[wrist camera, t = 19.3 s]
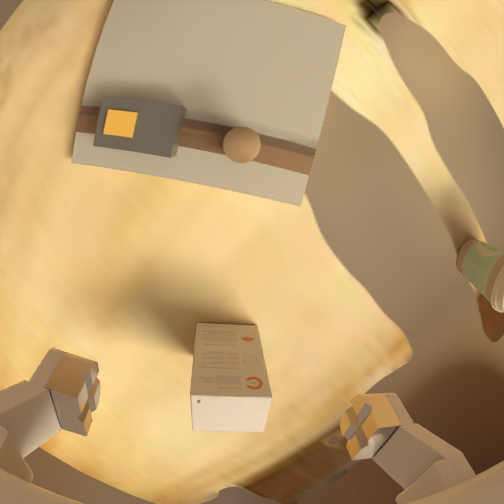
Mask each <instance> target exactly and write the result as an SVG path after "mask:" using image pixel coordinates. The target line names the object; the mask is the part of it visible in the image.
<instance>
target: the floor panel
mask: <svg viewBox="0 0 504 504" xmlns="http://www.w3.org/2000/svg"><path fill="white" fill-rule="evenodd" d="M345 27H346V26H345V25H343V24H340V23H338V22H335V21H332V20H329V19H327V18H324V17H321V16H318V15H315V14H312V13H309V12H306V11H303V10H300V9H296V8H293V7H289V6H286V5H282V4H279V3H275V2H271V1H267V0H114V1H113V4H112V6H111V9H110V11H109V14H108V17H107V19H106V22H105V25H104V27H103V30H102V33H101V36H100V39H99V42H98V45H97V48H96V52H95V55H94V58H93V62H92V65H91V69H90V72H89V76H88V80H87V84H86V88H85V92H84V96H83V100H82V105H81V110H80V114H79V119H78V125H77V130H76V136H75V142H74V148H73V155H72V162H71V163H76V164H83V165H90V166H97V167H104V168H111V169H117V170H123V171H129V172H135V173H141V174H147V175H153V176H159V177H164V178H170V179H175V180H180V181H186V182H191V183H196V184H201V185H206V186H211V187H216V188H221V189H226V190H230V191H235V192H240V193H244V194H249V195H253V196H258V197H262V198H267V199H271V200H275V201H280V202H284V203H288V204H292V205H296V206H301V203H302V199H303V195H304V192H305V188H306V184H307V181H308V177H309V173H310V170H311V166H312V162H313V159H314V155H315V151H316V147H317V143H318V140H319V136H320V132H321V128H322V124H323V120H324V116H325V112H326V108H327V104H328V100H329V96H330V92H331V88H332V84H333V79H334V75H335V71H336V67H337V63H338V58H339V54H340V49H341V45H342V41H343V36H344V32H345ZM103 96H112V97H123V98H132V99H141V100H149V101H156V102H163V103H170V104H176V105H182V106H184V107H185V108H186V109H187V110H186V115H185V119H184V123H183V127H182V131H181V136H180V140H179V145H178V149H177V154H176V156H174V157H172V158H168V157H162V156H157V155H151V154H145V153H138V152H132V151H125V150H118V149H111V148H104V147H96V146H93V143H94V137H95V131H96V126H97V121H98V116H99V112H100V107H101V103H102V99H103ZM236 127H248V128H251V129H252V130H254V131H255V132H256V133H257V134H258V136H259V138H260V142H261V147H260V151H259V153H258V155H257V156H256V157H255V158H254V159H253V160H251V161H249V162H247V163H237V162H234V161H232V160H231V159H229V158H228V157H227V156H226V154H225V152H224V149H223V141H224V138H225V136H226V134H227V133H228V132H229V131H230V130H232V129H233V128H236Z"/></svg>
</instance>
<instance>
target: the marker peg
mask: <svg viewBox="0 0 504 504" xmlns="http://www.w3.org/2000/svg"><path fill="white" fill-rule="evenodd" d="M260 147H261V142H260V138H259V136H258V134H257V133H256V132H255V131H254V130H252V129H251V128H248V127H236V128H233V129H232V130H230V131H229V132H228V133H227V134H226V136H225V138H224V141H223V149H224V152H225V154H226V156H227V157H228V158H229V159H231V160H232V161H234V162H237V163H247V162H249V161H251V160H253V159H254V158H255V157H256V156H257V155H258V153H259V151H260Z"/></svg>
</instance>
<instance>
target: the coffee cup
mask: <svg viewBox="0 0 504 504" xmlns="http://www.w3.org/2000/svg"><path fill="white" fill-rule="evenodd" d="M456 265H457V268H458V270H459V272H461V273H462V274H463V275H464V276H465V277H466V278H467V279H468V280H469V281H470V282H471V283H472V284H473V285H474V286H475V287H476V288H477V289H478V290H479V291H480V292H481V293H482V294H483V295H484V296H485V297H486V298H487V299H488V300H489V301H490V302H491V304H492V307H493V308H494V309H495V310H497V311H498V312H504V250H503V249H501V248H498V247H495V246H493V245H490V244H487V243H484V242H481V241H479V240H476V239H469V240H467V241H466V242H465V243H464V244H463V245H462V246H461V248H460V250H459V252H458V255H457V259H456Z"/></svg>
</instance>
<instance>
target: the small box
mask: <svg viewBox="0 0 504 504" xmlns="http://www.w3.org/2000/svg"><path fill="white" fill-rule="evenodd" d="M190 399H191V413H192V429H193V430H195V431H220V432H263V431H264V428H265V424H266V420H267V417H268V413H269V409H270V405H271V401H272V394H271V389H270V385H269V380H268V375H267V370H266V365H265V360H264V355H263V350H262V345H261V340H260V335H259V330H258V326H257V325H234V324H213V323H197V326H196V334H195V342H194V353H193V366H192V378H191V390H190Z"/></svg>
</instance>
